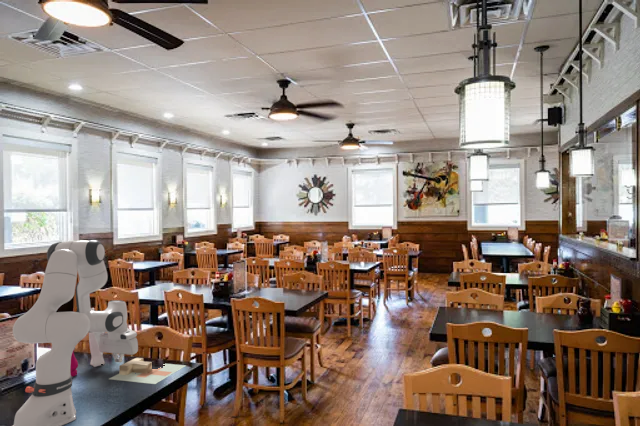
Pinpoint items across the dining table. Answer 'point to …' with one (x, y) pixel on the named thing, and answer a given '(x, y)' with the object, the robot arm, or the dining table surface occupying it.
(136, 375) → the mat
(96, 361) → the skyscraper
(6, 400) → the dining table surface
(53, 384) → the robot arm
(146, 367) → the T block
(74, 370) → the pepper mill
